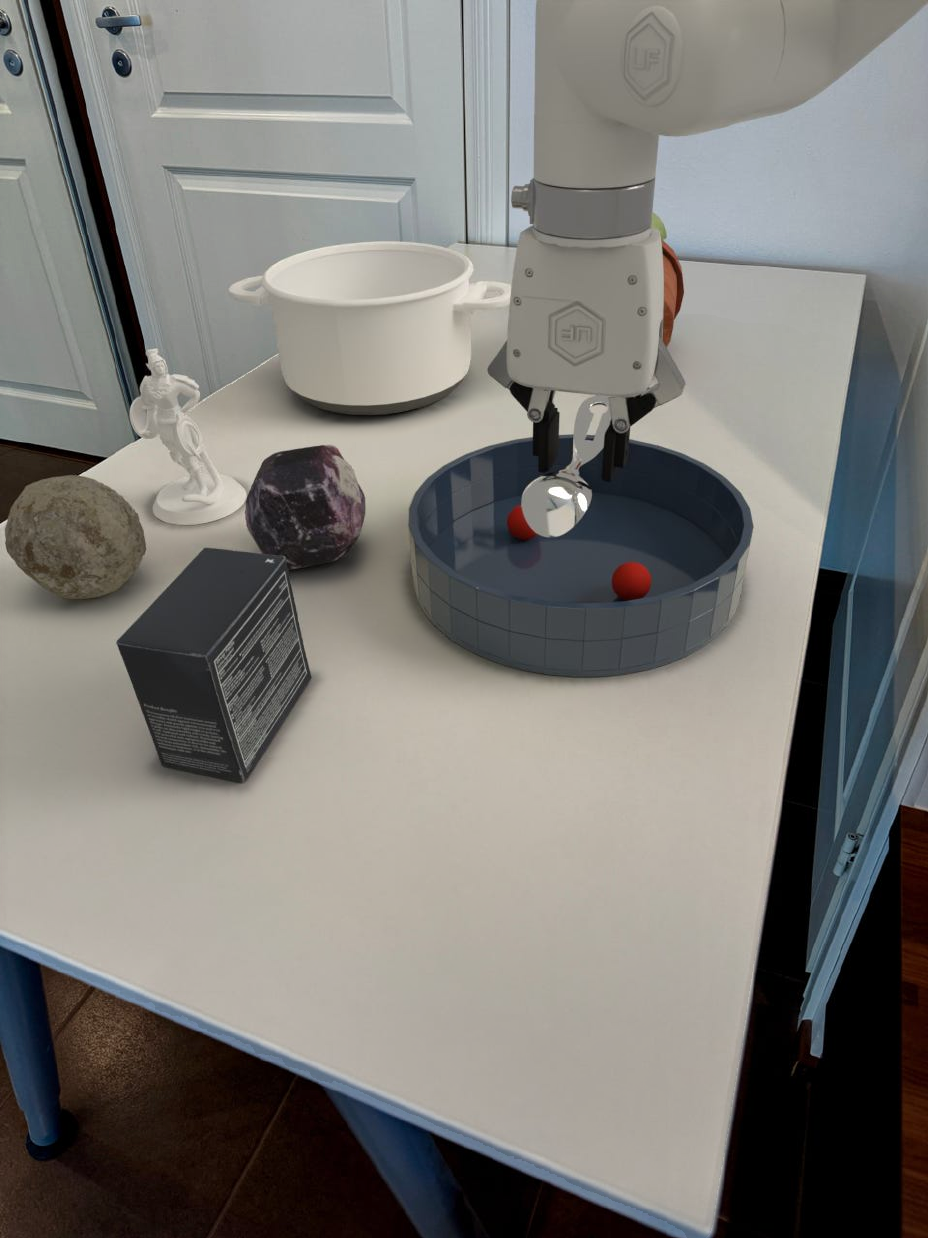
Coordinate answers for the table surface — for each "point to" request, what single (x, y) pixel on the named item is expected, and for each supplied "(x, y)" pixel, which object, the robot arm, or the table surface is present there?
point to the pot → (372, 323)
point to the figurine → (182, 449)
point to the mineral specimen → (305, 506)
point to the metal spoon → (566, 479)
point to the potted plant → (669, 282)
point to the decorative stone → (75, 536)
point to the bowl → (580, 560)
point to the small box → (218, 662)
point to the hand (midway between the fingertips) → (579, 466)
